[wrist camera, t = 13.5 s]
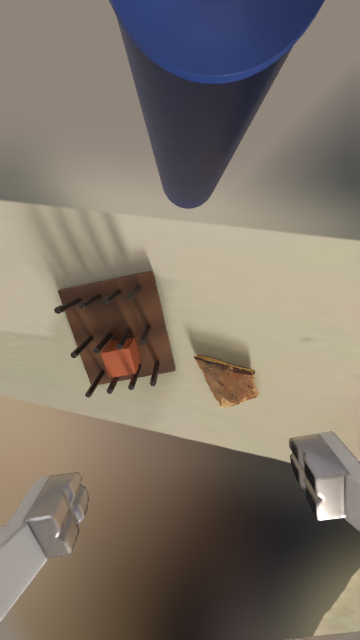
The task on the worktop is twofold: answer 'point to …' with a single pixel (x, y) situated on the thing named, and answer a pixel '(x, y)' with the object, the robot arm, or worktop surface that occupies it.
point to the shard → (228, 381)
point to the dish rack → (118, 326)
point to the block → (121, 358)
